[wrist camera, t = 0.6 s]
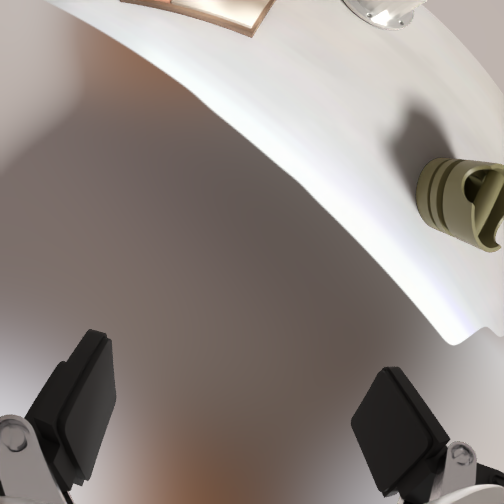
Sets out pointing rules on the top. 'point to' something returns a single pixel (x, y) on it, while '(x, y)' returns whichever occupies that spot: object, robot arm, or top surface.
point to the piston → (463, 199)
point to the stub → (166, 0)
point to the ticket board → (218, 11)
